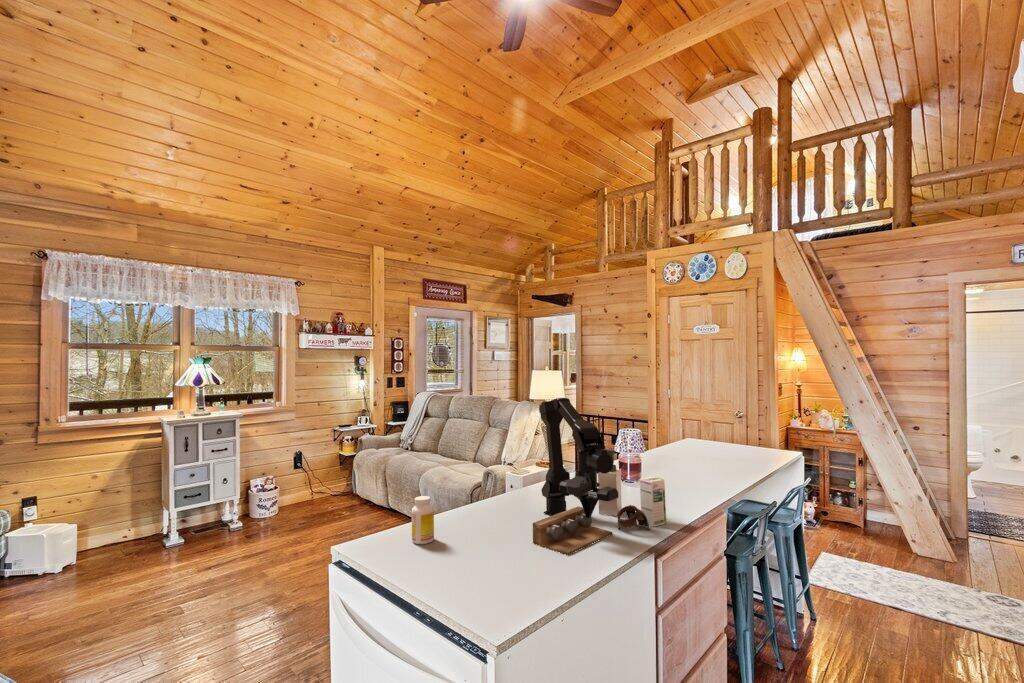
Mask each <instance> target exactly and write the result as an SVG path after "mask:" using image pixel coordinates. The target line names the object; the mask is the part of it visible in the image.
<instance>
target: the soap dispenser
mask: <svg viewBox="0 0 1024 683" xmlns="http://www.w3.org/2000/svg"><path fill="white" fill-rule="evenodd" d="M605 449H606V450H607V454H608V455H610V456H611V458H612V460H613V468H612V469H611V471H610V472H608V473H606V474H603V473H600V472H599V473H597V483H600V486H599V487H597V488H599V489H601V488H604V487H612V488H616V489H617V490H618V496H619V498H616V499H614V500H611V501H603V500H598V514H599V515H602V514H606V515H605V516H610V515H614V516H613V517H618V516H617V514H618V512H619V511H620V510H621V509H622V508H623V507H622V478H621V477H622V476H621V475H622V473H621V469H617V465H616V464H614V462H615V460H614V458H615V457H614V456H615V455H616V453H615V452H616V451H615V449H611V448H605Z"/></svg>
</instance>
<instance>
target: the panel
mask: <svg viewBox="0 0 1024 683" xmlns="http://www.w3.org/2000/svg"><path fill="white" fill-rule="evenodd" d="M581 514H585V512H584V509H583V506H582V507H581V506H576V507H573V508H570V509H566V511H564V512H561V513H559V514H556V515H553V516H551V515H549V516H548V517H545V518H542V519H540V520H537V521H534V522H532V544H533V543H534V544H533V545H536V544H537V545H536V546H538V545H540V546H539V547H541V546H542V548H544V547H546V548H545V549H547V548H549V549H548V550H550V549H551V551H553V550H554V551H553V552H556V551H557V552H556V553H558V552H560V553H559V554H561V553H563V554H562V555H564V554H566V555H565V556H567V555H568V556H570V555H572V554H574V553H576V552H575V551H577V550H579V549H581V548H583V547H585V548H587V547H589V546H591V545H593V544H592V543H594V542H596V541H598V540H600V541H602V540H604V539H606V538H608V537H610V536H612V535H613V531H611V530H607V529H603V528H601V527H600V528H599V527H597V526H593V525H591V526H590V527H589V528H585V527H581V526H579V524H578V530H577V532H576V533H575V534H571V533H568V532H566V531H565V530H564V528H563V527H562V528H563V531H564V533H563V537H562V539H561V540H555V539H552V538H550V536H549V534H548V533H546V526H547V527H551V526H552V525H556V526H560V527H561V521H565V522H566V520H568V519H570V520H574V521H575V515H577V516H580V515H581ZM577 523H578V522H577ZM609 535H610V536H609ZM607 536H608V537H607ZM605 537H606V538H605ZM603 538H604V539H603ZM601 539H602V540H601ZM598 542H599V541H598ZM596 543H597V542H596ZM590 544H591V545H590ZM594 544H595V543H594ZM588 545H589V546H588ZM586 546H587V547H586ZM583 549H584V548H583ZM581 550H582V549H581ZM579 551H580V550H579ZM573 552H574V553H573ZM577 552H578V551H577ZM571 553H572V554H571ZM569 554H570V555H569Z"/></svg>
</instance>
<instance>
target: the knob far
mask: <svg viewBox="0 0 1024 683" xmlns="http://www.w3.org/2000/svg"><path fill="white" fill-rule="evenodd" d="M592 519H593V518H592V517H591V518H587V517H586V515H585V514H581V515H580V516H577V515H575V521H577V522H578V524H579V526H581V527H585V528H589V527H590V526H592V523H593V522H592V521H593V520H592Z"/></svg>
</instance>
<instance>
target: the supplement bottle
mask: <svg viewBox="0 0 1024 683" xmlns="http://www.w3.org/2000/svg"><path fill="white" fill-rule="evenodd" d="M430 503H431V497H430V496H429V495H420V496H417V497H416V496H415V498H414V504H415V505H414V506H413V507H412V509H411V540H412V542H413V544H417V545H426V544H430V543H432V542H433V541H434V539H435V521H434V518H435V517H434V511H435V510H434V507H433V506H432V504H430Z"/></svg>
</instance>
